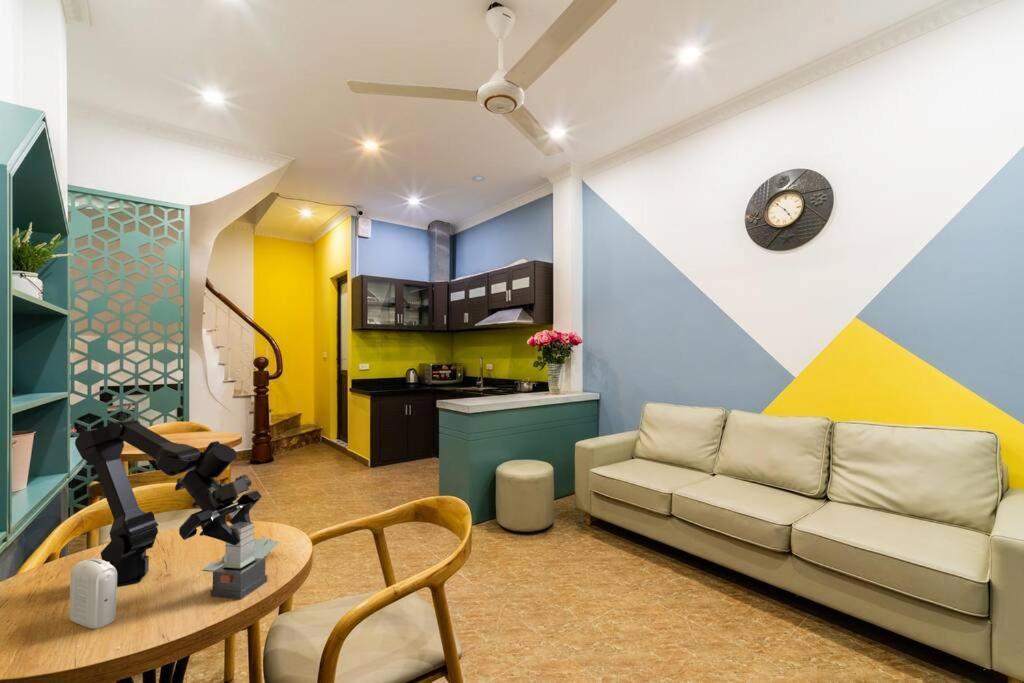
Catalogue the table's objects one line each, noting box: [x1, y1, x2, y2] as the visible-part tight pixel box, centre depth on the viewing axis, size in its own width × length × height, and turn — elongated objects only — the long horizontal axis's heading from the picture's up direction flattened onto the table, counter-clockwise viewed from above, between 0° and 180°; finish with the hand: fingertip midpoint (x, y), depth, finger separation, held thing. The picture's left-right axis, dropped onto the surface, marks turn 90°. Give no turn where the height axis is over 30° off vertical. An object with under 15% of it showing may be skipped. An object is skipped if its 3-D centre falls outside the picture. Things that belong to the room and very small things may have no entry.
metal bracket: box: [202, 535, 280, 573], centre depth 116 cm, size 14×6×15 cm
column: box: [224, 522, 255, 569], centre depth 102 cm, size 4×4×9 cm
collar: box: [209, 558, 268, 600], centre depth 102 cm, size 8×8×6 cm
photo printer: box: [68, 558, 118, 630], centre depth 91 cm, size 10×4×12 cm, turn 69°
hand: (244, 539), depth 102 cm, fingers closed on column, 4 cm apart
